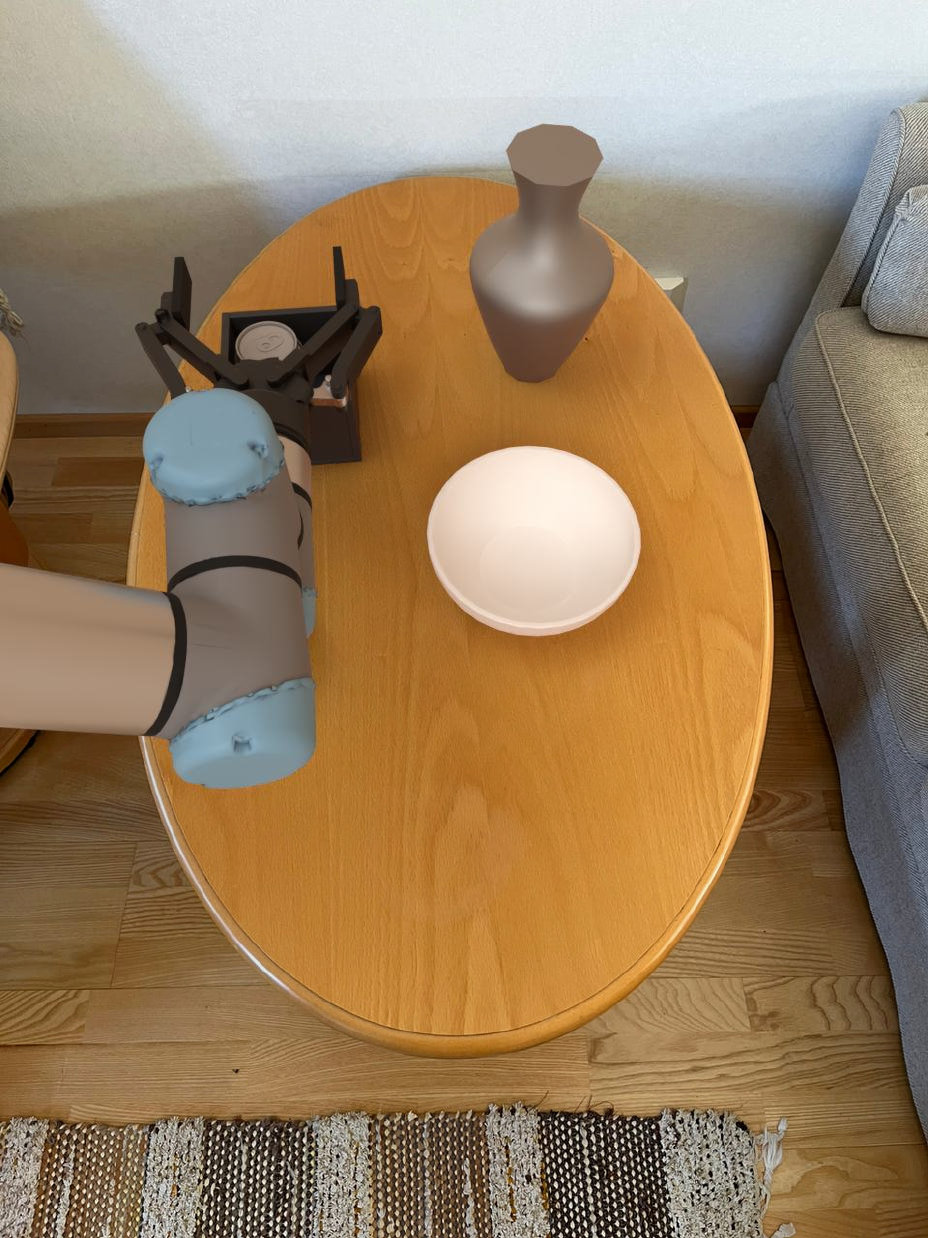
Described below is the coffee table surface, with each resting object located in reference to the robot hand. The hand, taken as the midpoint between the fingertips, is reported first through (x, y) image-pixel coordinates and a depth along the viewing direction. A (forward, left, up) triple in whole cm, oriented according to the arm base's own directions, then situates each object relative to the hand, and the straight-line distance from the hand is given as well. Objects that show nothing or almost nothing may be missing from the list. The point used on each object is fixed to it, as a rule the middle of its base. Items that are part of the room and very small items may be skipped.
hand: (261, 263), depth 74 cm
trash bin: (0, -1, -19) cm, 19 cm away
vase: (+26, +5, -20) cm, 33 cm away
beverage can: (-1, -3, -19) cm, 19 cm away
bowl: (+22, -22, -20) cm, 37 cm away
